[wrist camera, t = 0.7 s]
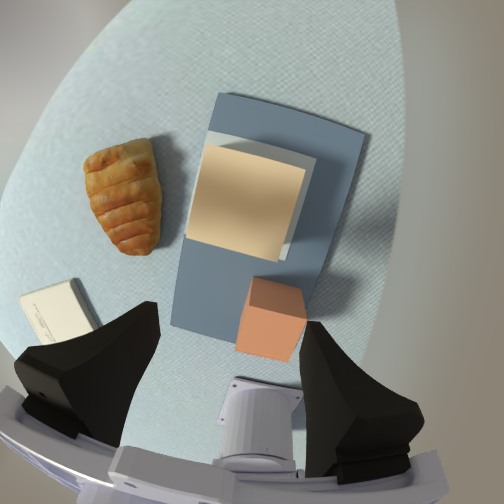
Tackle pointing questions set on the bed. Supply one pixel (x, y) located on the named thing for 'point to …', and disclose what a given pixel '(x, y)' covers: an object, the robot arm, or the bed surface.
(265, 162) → the base block
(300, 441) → the bed surface
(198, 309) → the board
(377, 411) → the robot arm
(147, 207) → the pastry
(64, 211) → the bed surface
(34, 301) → the external hard drive
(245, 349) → the top block
